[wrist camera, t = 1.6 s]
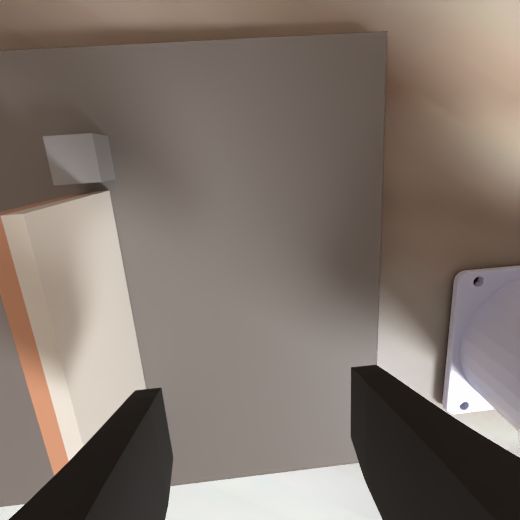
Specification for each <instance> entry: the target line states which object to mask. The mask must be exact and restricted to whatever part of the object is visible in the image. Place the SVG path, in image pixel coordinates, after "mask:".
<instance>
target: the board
mask: <svg viewBox="0 0 520 520" xmlns="http://www.w3.org/2000/svg"><path fill="white" fill-rule="evenodd" d="M386 57H387V31H382V32H362V33H342V34H323V35H303V36H283V37H263V38H243V39H223V40H203V41H183V42H163V43H143V44H123V45H103V46H83V47H63V48H43V49H23V50H3V51H0V212H2V211H7V210H11V209H15V208H19V207H23V206H28V205H32V204H36V203H40V202H45V201H49V200H53V199H57V198H61V197H66V196H70V195H74V194H78V193H82V192H95V191H108V190H109V191H110V197H111V202H112V207H113V213H114V218H115V224H116V229H117V234H118V240H119V245H120V251H121V256H122V261H123V267H124V272H125V278H126V283H127V288H128V294H129V299H130V305H131V310H132V315H133V321H134V326H135V332H136V337H137V342H138V348H139V353H140V359H141V364H142V369H143V375H144V380H145V386H146V389H152V388H162V394H163V400H164V405H165V411H166V417H167V423H168V429H169V435H170V441H171V446H172V452H173V466H172V475H171V485H170V486H174V485H182V484H190V483H199V482H207V481H215V480H223V479H231V478H239V477H247V476H256V475H264V474H272V473H280V472H288V471H296V470H304V469H313V468H321V467H329V466H337V465H345V464H353V463H359V461H358V458H357V455H356V452H355V449H354V446H353V443H352V440H351V367H358V366H368V365H377V348H378V315H379V283H380V251H381V219H382V186H383V154H384V122H385V90H386ZM53 477H54V474H53V470H52V467H51V464H50V460H49V457H48V454H47V450H46V447H45V443H44V440H43V437H42V433H41V430H40V426H39V423H38V420H37V416H36V413H35V410H34V406H33V403H32V399H31V396H30V393H29V389H28V386H27V383H26V379H25V376H24V372H23V369H22V366H21V362H20V359H19V355H18V352H17V349H16V345H15V342H14V339H13V335H12V332H11V328H10V325H9V322H8V318H7V315H6V312H5V308H4V305H3V301H2V298H1V295H0V507H3V506H11V505H20V504H26V503H27V502H28V501H29V500H30V499H31V498H32V497H33V496H34V495H35V494H36V493H37V492H38V491H39V490H40V489H41V488H42V487H43V486H44V485H45V484H46V483H47V482H48V481H49V480H50V479H51V478H53Z"/></svg>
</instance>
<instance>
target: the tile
mask: <svg viewBox="0 0 520 520" xmlns="http://www.w3.org/2000/svg"><path fill="white" fill-rule="evenodd" d="M0 295H1V298H2V301H3V305H4V308H5V312H6V315H7V318H8V322H9V325H10V328H11V332H12V335H13V339H14V342H15V345H16V349H17V352H18V355H19V359H20V362H21V366H22V369H23V372H24V376H25V379H26V383H27V386H28V389H29V393H30V396H31V399H32V403H33V406H34V410H35V413H36V416H37V420H38V423H39V426H40V430H41V433H42V437H43V440H44V443H45V447H46V450H47V454H48V457H49V460H50V464H51V467H52V470H53V474H54V476H55V475H56V474H57V473H58V472H59V471H60V470H61V469H62V468H63V467H64V466H65V465H66V464H67V463H68V462H69V461H70V460H71V459H72V458H73V457H74V456H75V454H76V453H77V452H78V451H79V450H80V449H81V448H82V447H83V446H84V445H85V444H86V443H87V442H88V441H89V440H90V439H91V438H92V437H93V435H94V434H95V433H96V432H97V431H98V430H99V429H100V428H101V427H102V426H103V425H104V424H105V422H106V421H107V420H108V419H109V418H110V417H111V416H112V415H113V414H114V413H115V411H116V410H117V409H118V408H119V407H120V406H121V405H122V404H123V403H124V402H125V401H126V399H127V398H128V397H129V396H130V395H131V394H132V393H133V392H134V391H135V390H143V389H146V386H145V380H144V375H143V369H142V364H141V359H140V353H139V348H138V342H137V337H136V332H135V326H134V321H133V315H132V310H131V305H130V299H129V294H128V288H127V283H126V278H125V272H124V267H123V261H122V256H121V251H120V245H119V240H118V234H117V229H116V224H115V218H114V213H113V207H112V202H111V197H110V191H109V190H108V191H95V192H82V193H78V194H74V195H70V196H66V197H61V198H57V199H53V200H49V201H45V202H40V203H36V204H32V205H28V206H23V207H19V208H15V209H11V210H7V211H2V212H0Z"/></svg>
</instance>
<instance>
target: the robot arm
mask: <svg viewBox="0 0 520 520" xmlns="http://www.w3.org/2000/svg"><path fill="white" fill-rule="evenodd" d="M476 277H478V281H477V282H476V283H475V284H473V281H474V279H475V278H476ZM462 402H464V403H462ZM461 403H462V404H461ZM460 404H461V405H460ZM442 405H443V408H444V409H445V410H446V411H447V412H448V413H450V414H459V413H468V412H476V411H485V410H494V409H495V410H496V411H497V412H498V413H500V414H501V415H502V416H503V417H504V418H505V419H506V420H507V421H508V422H509V423H510V424H511V425H512V426H513V427H514V428H515V429H516V430H517V431H518V432H520V265H518V266H507V267H497V268H486V269H475V270H465V271H461V272H460V273H458V274H457V275H456V277H455V279H454V285H453V296H452V306H451V317H450V327H449V338H448V348H447V359H446V370H445V380H444V391H443V401H442ZM448 413H446V412H445V411H443V410H442V409H440V408H439V407H437V406H436V405H434V404H433V403H431V402H430V401H428V400H427V399H425V398H424V397H422V396H421V395H419V394H418V393H417V392H415V391H414V390H412V389H411V388H409V387H408V386H406V385H405V384H404V383H402V382H401V381H399V380H398V379H396V378H395V377H394V376H392V375H391V374H389V373H388V372H386V371H385V370H383V369H382V368H380V367H379V366H377V365H368V366H358V367H351V440H352V443H353V446H354V449H355V452H356V455H357V458H358V461H359V464H360V467H361V470H362V473H363V476H364V479H365V481H366V484H367V486H368V488H369V490H370V493H371V495H372V497H373V499H374V501H375V504H376V506H377V508H378V510H379V512H380V515H381V517H382V519H383V520H520V458H519V457H517V456H516V455H514V454H512V453H511V452H509V451H507V450H506V449H504V448H502V447H501V446H499V445H497V444H496V443H494V442H492V441H491V440H489V439H487V438H486V437H484V436H482V435H481V434H479V433H477V432H476V431H474V430H472V429H471V428H469V427H468V426H466V425H465V424H463V423H461V422H460V421H458V420H457V419H455V418H454V417H452V416H451V415H449V414H448ZM172 466H173V452H172V446H171V441H170V435H169V429H168V423H167V417H166V411H165V405H164V400H163V394H162V388H152V389H143V390H135V391H134V392H133V393H132V394H131V395H130V396H129V397H128V398H127V399H126V401H125V402H124V403H123V404H122V405H121V406H120V407H119V408H118V409H117V410H116V411H115V413H114V414H113V415H112V416H111V417H110V418H109V419H108V420H107V421H106V422H105V424H104V425H103V426H102V427H101V428H100V429H99V430H98V431H97V432H96V433H95V434H94V435H93V437H92V438H91V439H90V440H89V441H88V442H87V443H86V444H85V445H84V446H83V447H82V448H81V449H80V450H79V451H78V452H77V453H76V454H75V456H74V457H73V458H72V459H71V460H70V461H69V462H68V463H67V464H66V465H65V466H64V467H63V468H62V469H61V470H60V471H59V472H58V473H57V474H56V475H55V476H54V477H53V478H51V479H50V480H49V481H48V482H47V483H46V484H45V485H44V486H43V487H42V488H41V489H40V490H39V491H38V492H37V493H36V494H35V495H34V496H33V497H32V498H31V499H30V500H29V501H28V502H27V503H26V504H25V505H24V506H23V507H22V508H21V509H20V510H19V511H18V512H16V513H15V514H14V515H13V516H12V517H11V518H10V519H9V520H165V517H166V512H167V507H168V501H169V493H170V485H171V475H172Z"/></svg>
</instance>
